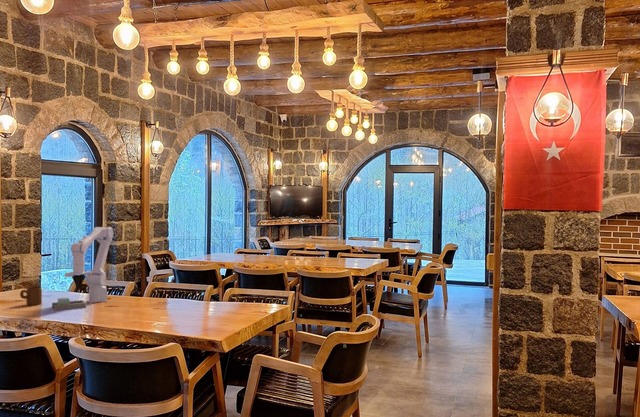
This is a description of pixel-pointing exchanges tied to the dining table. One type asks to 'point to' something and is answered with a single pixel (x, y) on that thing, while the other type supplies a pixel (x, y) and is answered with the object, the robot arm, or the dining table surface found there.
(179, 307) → the dining table surface
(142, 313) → the dining table surface
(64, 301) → the block
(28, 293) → the mug
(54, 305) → the chute
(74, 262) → the robot arm
